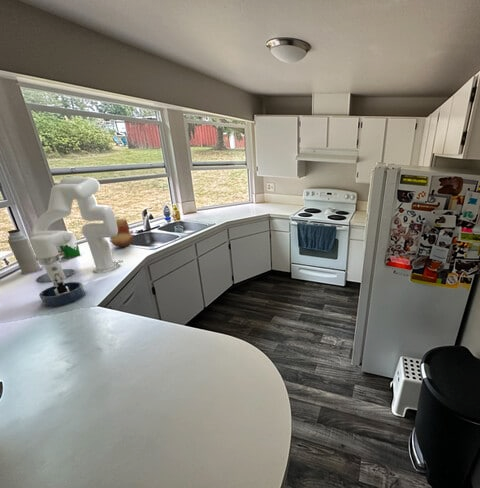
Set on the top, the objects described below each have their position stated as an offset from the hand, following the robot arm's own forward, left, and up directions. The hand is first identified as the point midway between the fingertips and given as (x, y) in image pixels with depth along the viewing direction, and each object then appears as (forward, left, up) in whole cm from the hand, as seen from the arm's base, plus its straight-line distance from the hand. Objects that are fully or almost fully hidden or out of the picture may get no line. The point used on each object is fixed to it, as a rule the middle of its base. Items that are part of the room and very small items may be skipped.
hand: (61, 290), depth 131 cm
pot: (0, 0, -5) cm, 5 cm away
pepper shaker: (0, 0, -5) cm, 5 cm away
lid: (-3, -37, -5) cm, 37 cm away
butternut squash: (-47, -65, -6) cm, 81 cm away
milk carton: (-17, -72, -6) cm, 74 cm away
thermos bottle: (+5, -58, -6) cm, 58 cm away
